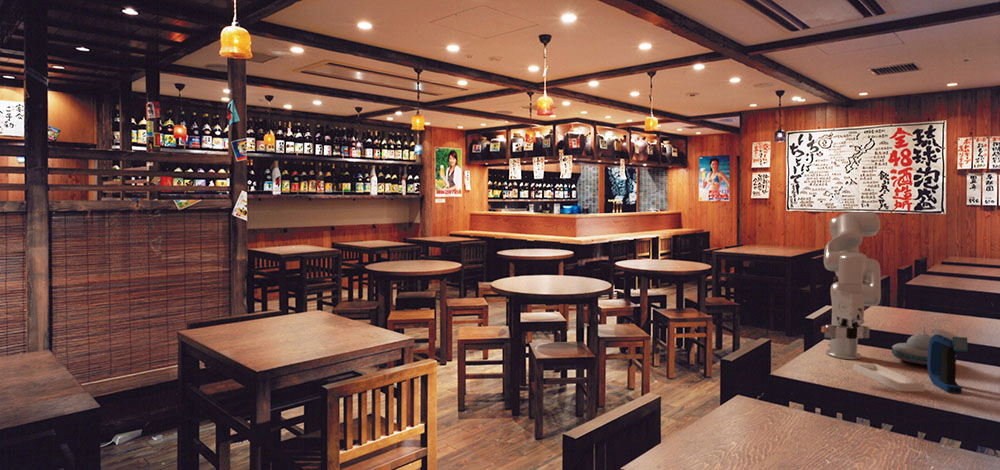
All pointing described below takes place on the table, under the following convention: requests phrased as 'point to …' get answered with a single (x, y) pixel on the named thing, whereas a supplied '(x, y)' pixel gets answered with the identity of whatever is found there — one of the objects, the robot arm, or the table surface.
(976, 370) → the table surface
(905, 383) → the tongs rest
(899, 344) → the toy
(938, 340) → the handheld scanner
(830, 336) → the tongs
